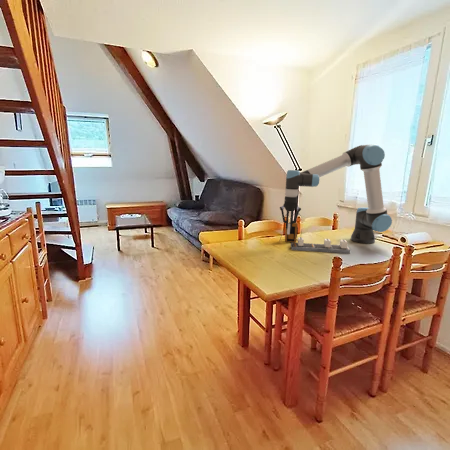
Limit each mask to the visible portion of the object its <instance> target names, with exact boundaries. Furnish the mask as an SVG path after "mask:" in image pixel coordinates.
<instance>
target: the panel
mask: <svg viewBox="0 0 450 450" xmlns="http://www.w3.org/2000/svg"><path fill="white" fill-rule="evenodd" d="M290 248H291V251H298V252H299V251H300V252H317V253H334V254H351V249H350V248H349V247H348V246H347V249H346V248H341V247H340V244H331V246H330V248H329V247H325V246H324V243H323V244H322V243H307V242H304V243H303V246H298V242H290Z"/></svg>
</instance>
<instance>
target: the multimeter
mask: <svg viewBox="0 0 450 450" xmlns="http://www.w3.org/2000/svg"><path fill="white" fill-rule="evenodd" d="M286 215H287V214H284V217H286ZM294 215H296V212H295V213H294ZM299 216H300V218H301V220H303V217H302V215H301V214H299ZM283 223H284V222H283ZM288 223H290V222H289V221H288ZM283 226H284V227H283V230H282V233H281V235H280V239H279V240H282V239H281V238H282V236H283V233H284V242H285V243H291V242H293V243H297V241H298V231H299V228H298V223H297V222H295V223H293V224H292V229H290V234H287V229H286V223H284V225H283ZM301 234H303V230H301Z"/></svg>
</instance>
